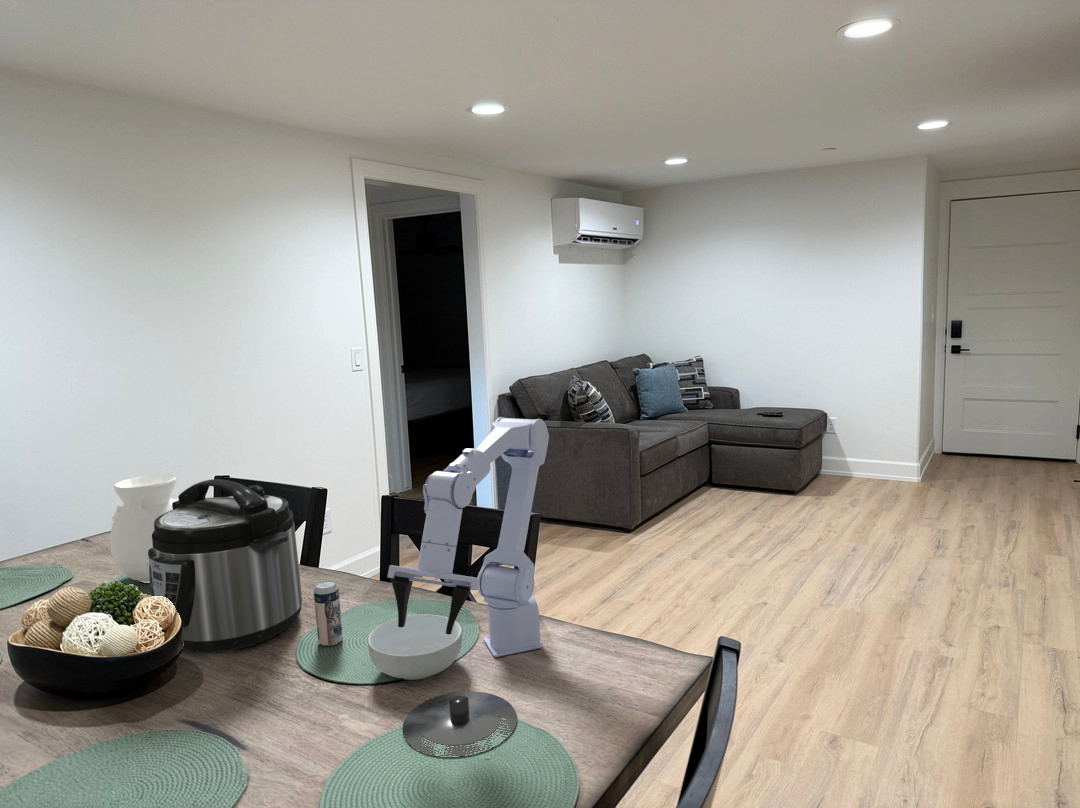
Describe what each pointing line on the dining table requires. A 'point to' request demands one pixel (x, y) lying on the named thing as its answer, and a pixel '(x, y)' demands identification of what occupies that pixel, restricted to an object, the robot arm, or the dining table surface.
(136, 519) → the pitcher
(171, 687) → the dining table surface
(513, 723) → the lid
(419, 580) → the robot arm
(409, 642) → the cereal bowl
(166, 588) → the pressure cooker
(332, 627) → the beer can
